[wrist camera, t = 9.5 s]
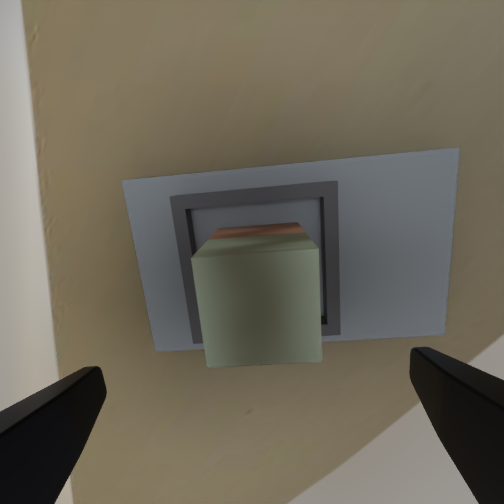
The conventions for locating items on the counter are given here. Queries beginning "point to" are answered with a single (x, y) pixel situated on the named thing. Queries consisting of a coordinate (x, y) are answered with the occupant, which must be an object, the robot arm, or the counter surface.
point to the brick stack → (259, 296)
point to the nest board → (319, 230)
